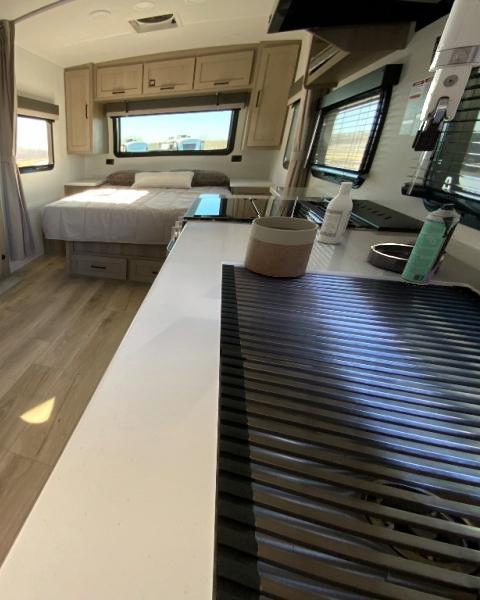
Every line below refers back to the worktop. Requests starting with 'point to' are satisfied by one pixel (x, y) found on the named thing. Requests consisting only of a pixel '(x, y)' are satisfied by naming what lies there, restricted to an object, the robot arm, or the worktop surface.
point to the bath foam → (337, 216)
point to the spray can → (430, 245)
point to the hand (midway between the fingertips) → (421, 149)
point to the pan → (393, 256)
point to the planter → (280, 246)
